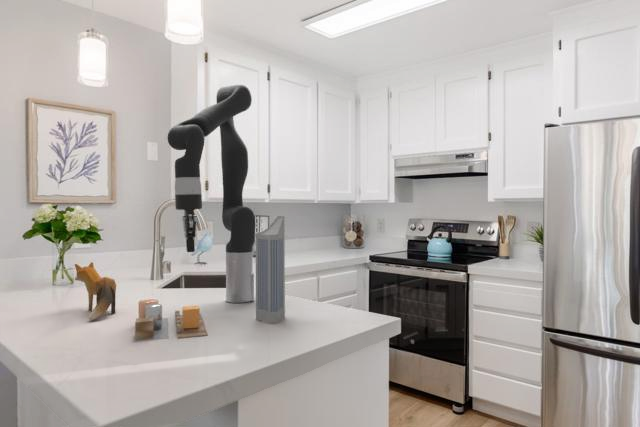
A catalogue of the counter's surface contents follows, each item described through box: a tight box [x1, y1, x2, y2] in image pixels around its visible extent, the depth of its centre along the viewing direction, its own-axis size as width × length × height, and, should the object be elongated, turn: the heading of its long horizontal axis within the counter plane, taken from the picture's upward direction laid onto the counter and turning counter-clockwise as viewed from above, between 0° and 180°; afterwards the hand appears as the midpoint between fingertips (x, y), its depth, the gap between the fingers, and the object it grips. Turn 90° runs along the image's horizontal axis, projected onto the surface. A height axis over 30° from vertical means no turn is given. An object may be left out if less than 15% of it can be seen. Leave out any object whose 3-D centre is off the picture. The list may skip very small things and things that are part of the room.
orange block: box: [181, 305, 200, 329], centre depth 113 cm, size 4×4×5 cm
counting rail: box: [174, 310, 209, 339], centre depth 116 cm, size 23×7×3 cm, turn 20°
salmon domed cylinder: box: [138, 298, 159, 318], centre depth 118 cm, size 5×5×6 cm
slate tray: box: [132, 317, 170, 343], centre depth 113 cm, size 8×21×1 cm, turn 20°
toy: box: [74, 261, 117, 321], centre depth 133 cm, size 11×29×15 cm, turn 43°
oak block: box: [134, 317, 154, 339], centre depth 106 cm, size 4×4×4 cm
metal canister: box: [146, 303, 163, 330], centre depth 113 cm, size 4×4×6 cm
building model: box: [255, 215, 286, 325], centre depth 126 cm, size 8×8×30 cm
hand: (190, 251), depth 129 cm, fingers closed
